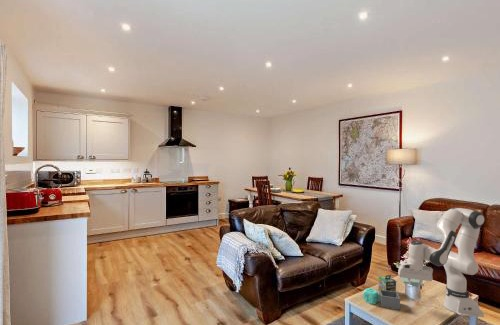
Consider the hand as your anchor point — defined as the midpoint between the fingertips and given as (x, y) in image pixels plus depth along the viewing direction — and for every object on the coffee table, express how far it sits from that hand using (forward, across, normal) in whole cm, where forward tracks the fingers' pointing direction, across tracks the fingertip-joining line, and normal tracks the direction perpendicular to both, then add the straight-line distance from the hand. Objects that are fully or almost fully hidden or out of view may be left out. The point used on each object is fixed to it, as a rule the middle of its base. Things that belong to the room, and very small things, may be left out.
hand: (414, 285), depth 185 cm
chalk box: (+20, +12, -25) cm, 34 cm away
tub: (+20, +14, -7) cm, 25 cm away
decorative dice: (+20, +26, -8) cm, 34 cm away
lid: (+1, 0, -5) cm, 5 cm away
